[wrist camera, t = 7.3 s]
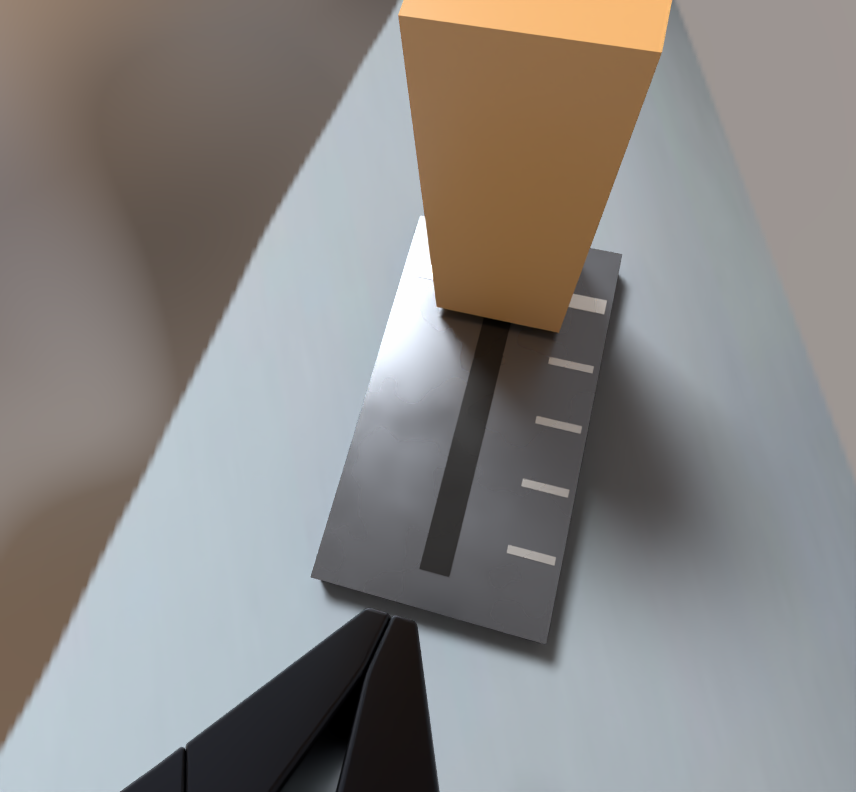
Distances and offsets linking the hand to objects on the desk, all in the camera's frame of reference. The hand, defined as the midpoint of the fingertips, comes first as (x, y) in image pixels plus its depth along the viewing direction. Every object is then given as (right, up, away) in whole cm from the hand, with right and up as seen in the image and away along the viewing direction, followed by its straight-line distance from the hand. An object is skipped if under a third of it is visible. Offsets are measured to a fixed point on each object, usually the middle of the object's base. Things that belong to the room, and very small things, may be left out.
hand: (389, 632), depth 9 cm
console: (+2, +3, +10) cm, 11 cm away
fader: (+3, +8, +10) cm, 13 cm away
